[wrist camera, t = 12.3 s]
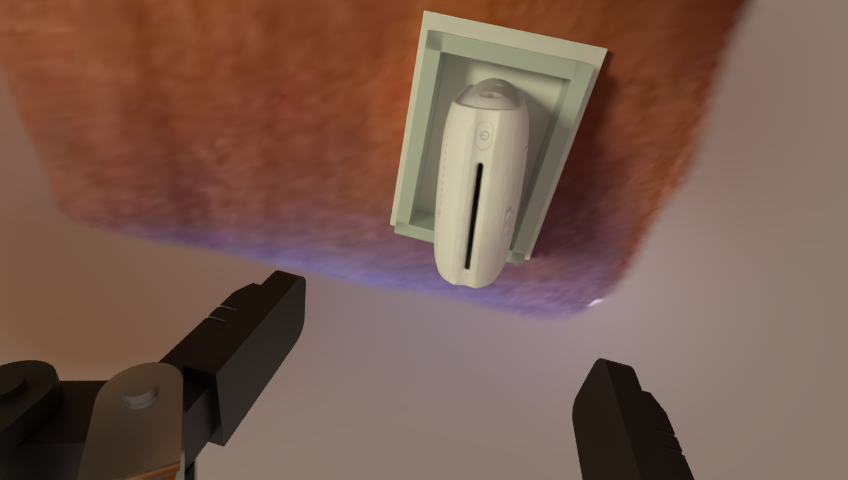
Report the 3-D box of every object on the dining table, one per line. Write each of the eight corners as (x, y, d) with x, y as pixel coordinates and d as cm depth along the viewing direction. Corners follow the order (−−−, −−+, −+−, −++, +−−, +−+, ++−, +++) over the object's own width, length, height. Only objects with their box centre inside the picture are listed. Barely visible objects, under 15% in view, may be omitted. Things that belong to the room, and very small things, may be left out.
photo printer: (464, 73, 27) (436, 96, 16) (528, 78, 26) (543, 105, 15) (450, 210, 32) (421, 299, 21) (504, 217, 31) (502, 313, 20)
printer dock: (426, 11, 26) (414, 7, 23) (604, 48, 25) (619, 50, 22) (393, 219, 34) (380, 240, 31) (528, 254, 33) (530, 279, 30)
